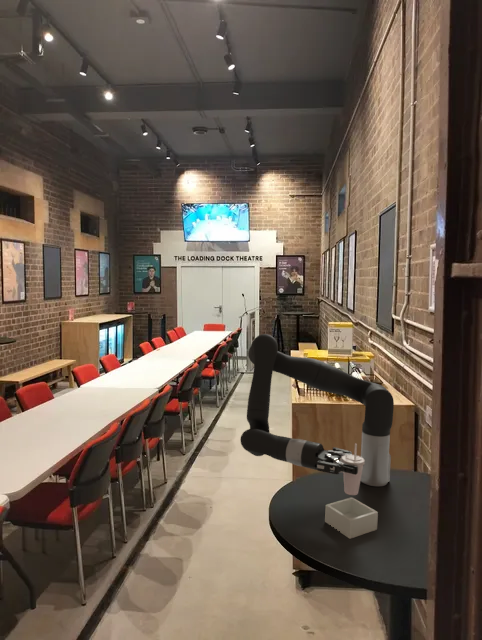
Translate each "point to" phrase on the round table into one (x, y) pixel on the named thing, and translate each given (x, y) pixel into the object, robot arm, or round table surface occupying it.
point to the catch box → (351, 517)
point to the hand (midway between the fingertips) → (361, 466)
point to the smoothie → (351, 479)
